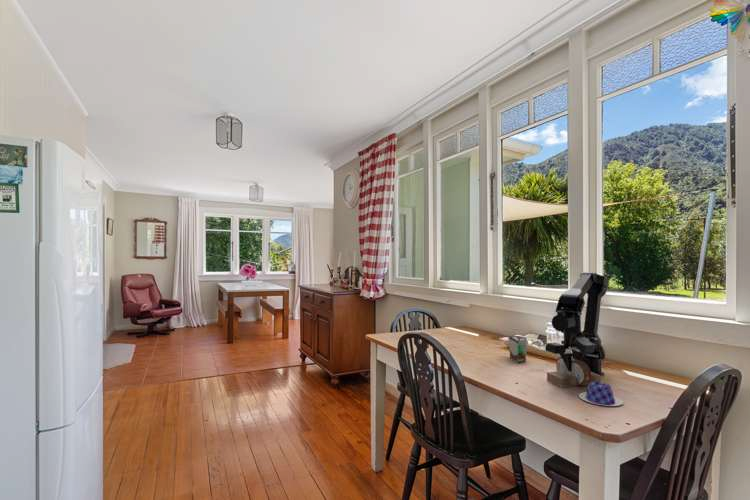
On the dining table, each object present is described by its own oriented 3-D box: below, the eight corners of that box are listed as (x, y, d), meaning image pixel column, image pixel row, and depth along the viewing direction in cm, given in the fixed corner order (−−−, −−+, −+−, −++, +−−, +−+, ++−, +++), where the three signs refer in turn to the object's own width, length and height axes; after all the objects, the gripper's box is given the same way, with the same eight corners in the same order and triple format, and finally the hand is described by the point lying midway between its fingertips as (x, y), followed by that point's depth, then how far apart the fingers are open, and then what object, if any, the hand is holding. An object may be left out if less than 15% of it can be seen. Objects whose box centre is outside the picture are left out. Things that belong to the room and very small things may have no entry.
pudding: (580, 391, 125) (580, 376, 125) (623, 398, 118) (622, 382, 119) (576, 403, 115) (576, 386, 116) (622, 411, 109) (622, 393, 109)
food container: (533, 364, 158) (532, 340, 158) (518, 364, 158) (518, 340, 158) (522, 356, 170) (521, 335, 171) (508, 356, 170) (508, 335, 171)
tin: (591, 388, 127) (592, 364, 128) (584, 388, 127) (584, 364, 127) (561, 375, 142) (562, 353, 142) (554, 375, 141) (554, 353, 142)
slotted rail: (584, 377, 140) (583, 369, 140) (601, 383, 132) (600, 375, 132) (547, 380, 136) (546, 372, 136) (562, 387, 128) (562, 378, 129)
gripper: (565, 333, 125) (566, 379, 124) (611, 330, 129) (613, 375, 128) (544, 327, 136) (545, 370, 135) (587, 325, 140) (588, 366, 139)
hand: (573, 370), depth 134 cm, fingers closed on tin, 2 cm apart
